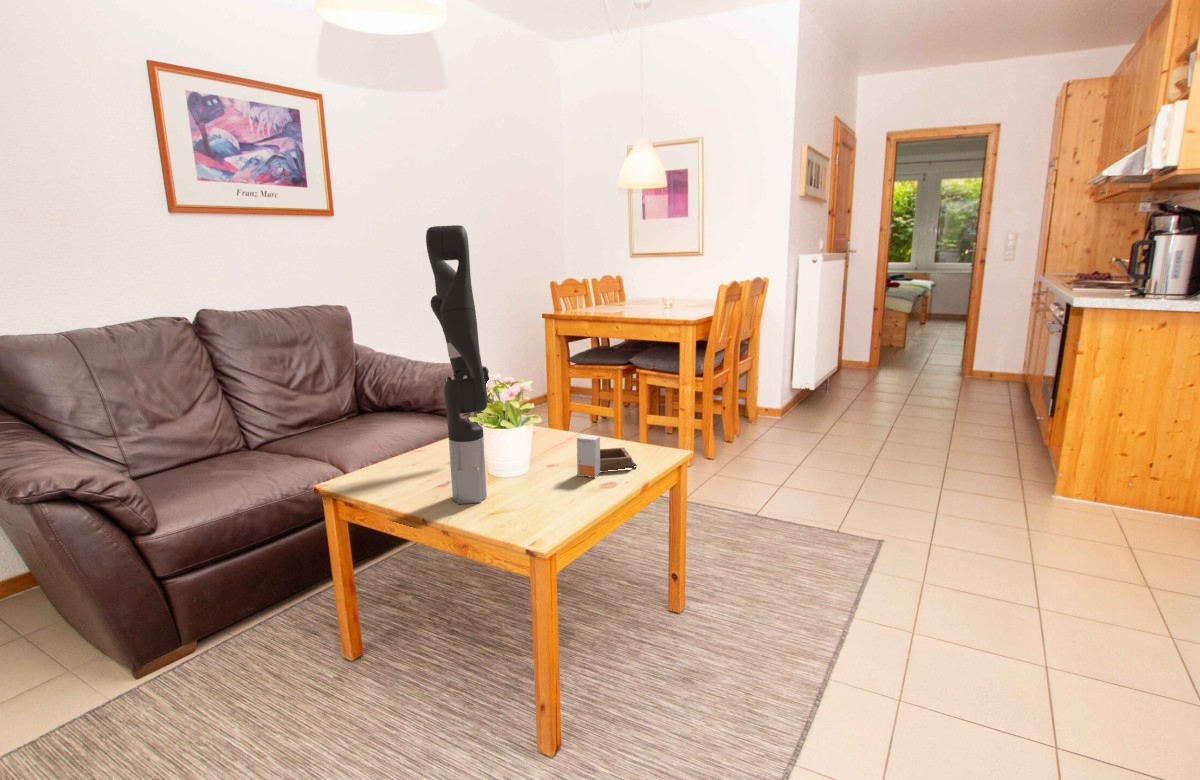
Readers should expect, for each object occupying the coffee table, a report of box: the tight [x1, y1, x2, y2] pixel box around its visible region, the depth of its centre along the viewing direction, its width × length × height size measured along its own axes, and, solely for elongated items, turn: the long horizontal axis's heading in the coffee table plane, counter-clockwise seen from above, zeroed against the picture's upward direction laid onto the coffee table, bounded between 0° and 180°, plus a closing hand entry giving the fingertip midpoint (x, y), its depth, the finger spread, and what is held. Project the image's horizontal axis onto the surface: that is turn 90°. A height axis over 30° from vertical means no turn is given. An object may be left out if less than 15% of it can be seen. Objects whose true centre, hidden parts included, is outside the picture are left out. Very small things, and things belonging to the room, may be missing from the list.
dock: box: [600, 447, 638, 471], centre depth 198 cm, size 11×13×4 cm
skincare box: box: [576, 434, 601, 478], centre depth 189 cm, size 6×4×12 cm
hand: (473, 403), depth 204 cm, fingers open, 8 cm apart
